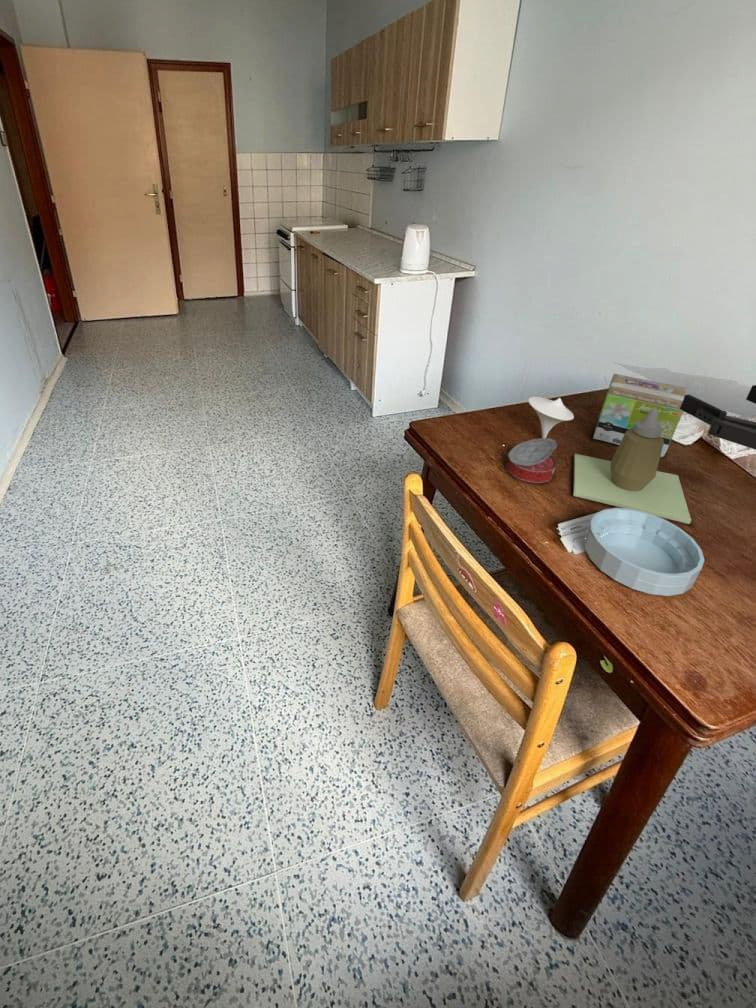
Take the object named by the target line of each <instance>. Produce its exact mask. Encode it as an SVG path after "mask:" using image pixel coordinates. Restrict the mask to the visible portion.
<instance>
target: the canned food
mask: <svg viewBox="0 0 756 1008" xmlns="http://www.w3.org/2000/svg"><path fill="white" fill-rule="evenodd" d="M557 447H558V443H557V440H556V439H553V438H550V437H546V438H542V437H540V438H532V439H530V440H526V441H522V442H521V443H519V444H516V445H515V446H514V447H513V448H511V450H510V451H509V452H508V455H507V460H506V464H505V467H506V470H507V471H508V473H509V474H510V475H512V476H513V477H515V478H516V479H519V480H521V481H523V482H528V483H532V484H541V483H547V482H549V481H551V480H552V479H553V477H554V473H555V469H556V466H557V462H556V460H555V459H554V457H553V456H552V454H553V452H554V451H555V450H556V449H557Z"/></svg>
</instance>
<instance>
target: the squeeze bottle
mask: <svg viewBox="0 0 756 1008" xmlns="http://www.w3.org/2000/svg"><path fill="white" fill-rule="evenodd" d="M657 421H658V409H656V408H651V410H650V411H649V412H648V414H647V415H646V417H645V418H644V420H638V421H636V422H635V424H634V427H633V429H629V430H627V431H626V433H625V435H624V437H623V439H622V441H621V443H620V445H618V447H617V449H616V451H615V453H614V455H613V457H612V459H611V460H610V461H611V465H610V467H611V478H612V481H613V483H614V484H616V485H617V486H618V487H621V488H623V489H626V490H629V491H640V490H642V489H643V488H644V487H645V486H646V485H647V484H649V483H650V482H651V481H652V480H653V479H654V478H655V476H656V472H657V471H658V468H659V463H660V460H661V457H660V456H661V452H662V448H663V444H664V439H663V438H662V437H661V436H660V435H661V433H662V430H663V428H662V427H661V426H660V425H659V424H657Z"/></svg>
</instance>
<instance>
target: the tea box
mask: <svg viewBox="0 0 756 1008" xmlns="http://www.w3.org/2000/svg"><path fill="white" fill-rule="evenodd" d="M685 395H687V388H686V387H684V386H678V385H673V384H669V383H668V384H667V383H662V382H658V381H652V380H647V379H642V378H638V377H632V376H628V375H623V374H618V373H613V375H612V377H611V380H610V383H609V386H608V388H607V392H606V395H605V398H604V400H603V404H602V407H601V410H600V412H599V416H598V419H597V422H596V426H595V430H594V432H593V433H594V434H593V437H592V439H593V440H598V441H603V442H606V443H611V444H614V445H618V446H619V445H620V443H621V441H622V439H623V437H624V435H625V433H626V431H627V430H629V429H633V427H634V424H635V422H636V421H638V420H644V418H645V417H646V415H647V414H648V412H649V411H650V410H651V408H656V409H658V421H657V424H659V425H660V426H661V427H662V428H663V430H662V433H661V435H660V436H661V437H662V438H663V439H664V444H663V448H662V452H661V456H660V458H663V457H665V455H666V453H667V451H668V449H669V447H670V444H671V441H672V439H673V437H674V435H675V433H676V429H678V428H677V427H678V425H679V423H680V421H681V418H682V416H683V414H684V413H685V412H684V411H682V410H680V407H681V405H682V402H683V399H684V397H685Z"/></svg>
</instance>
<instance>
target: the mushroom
mask: <svg viewBox="0 0 756 1008" xmlns="http://www.w3.org/2000/svg"><path fill="white" fill-rule="evenodd" d="M527 402H528V404H529V406H530V407H531V408H532V409H533V410H534V411H535V412H536V414H537V416H538V418H539V421H540V427H541V438H548V434H549V433H550V431H551V430H552V429H553V427H555V426H557V425H558V424H559V423H562V422H567V421H573V420H574V418H575V416H574V413H573V412H572V411H571V410H570V409H569V408H568V407H566V405H564V403H563V401H562V399H561V397H558V398H557V399H554V400H552V399H549V398H545V397H541V396H531V397H529V398H528V401H527Z"/></svg>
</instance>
